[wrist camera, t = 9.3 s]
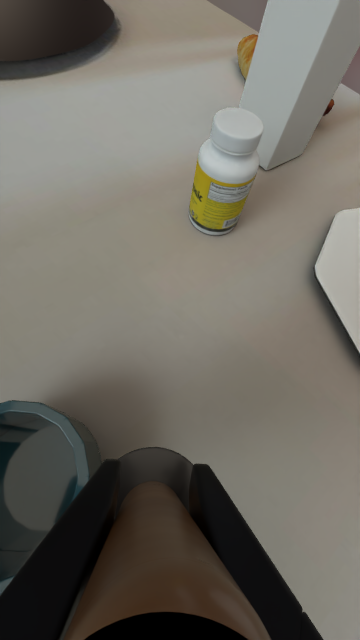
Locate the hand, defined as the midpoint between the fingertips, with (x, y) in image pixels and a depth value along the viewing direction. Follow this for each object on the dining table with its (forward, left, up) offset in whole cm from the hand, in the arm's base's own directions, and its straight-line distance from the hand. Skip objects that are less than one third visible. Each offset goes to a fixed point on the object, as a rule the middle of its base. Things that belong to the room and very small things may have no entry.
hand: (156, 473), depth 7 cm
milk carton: (+35, +19, -13) cm, 42 cm away
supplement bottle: (+20, +14, -13) cm, 28 cm away
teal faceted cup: (-6, +4, -13) cm, 15 cm away
